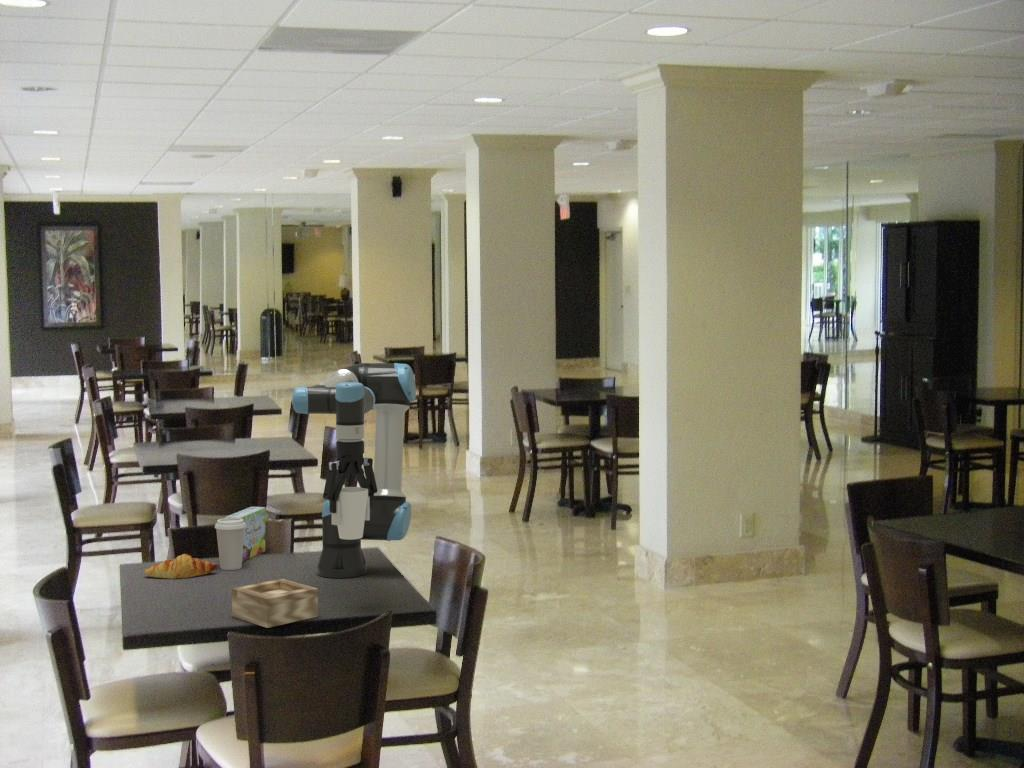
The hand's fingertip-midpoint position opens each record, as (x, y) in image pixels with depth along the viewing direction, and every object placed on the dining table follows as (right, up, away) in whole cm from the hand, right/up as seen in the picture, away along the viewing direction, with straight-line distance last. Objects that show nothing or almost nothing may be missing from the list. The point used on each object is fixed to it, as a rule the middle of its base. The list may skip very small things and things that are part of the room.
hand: (350, 522), depth 334 cm
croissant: (-56, -21, +39) cm, 72 cm away
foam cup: (0, -4, 0) cm, 4 cm away
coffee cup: (-44, -20, +50) cm, 69 cm away
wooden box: (-19, -24, -8) cm, 32 cm away
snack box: (-43, -19, +65) cm, 80 cm away
